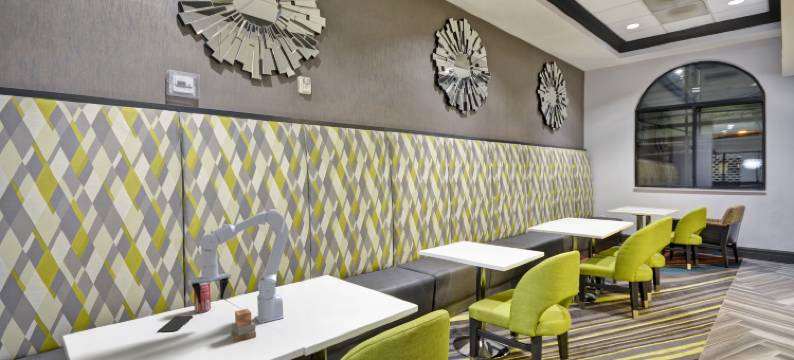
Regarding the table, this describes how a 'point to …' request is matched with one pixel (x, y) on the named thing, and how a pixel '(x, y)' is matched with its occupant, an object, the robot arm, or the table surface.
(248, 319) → the terracotta block
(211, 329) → the table surface
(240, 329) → the tower top
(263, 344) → the table surface
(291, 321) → the table surface
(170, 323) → the phone
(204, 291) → the soda can
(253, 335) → the tower base
